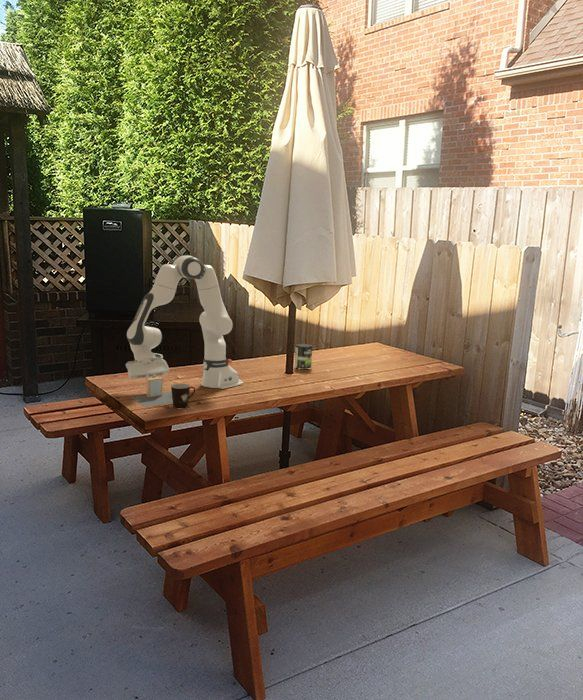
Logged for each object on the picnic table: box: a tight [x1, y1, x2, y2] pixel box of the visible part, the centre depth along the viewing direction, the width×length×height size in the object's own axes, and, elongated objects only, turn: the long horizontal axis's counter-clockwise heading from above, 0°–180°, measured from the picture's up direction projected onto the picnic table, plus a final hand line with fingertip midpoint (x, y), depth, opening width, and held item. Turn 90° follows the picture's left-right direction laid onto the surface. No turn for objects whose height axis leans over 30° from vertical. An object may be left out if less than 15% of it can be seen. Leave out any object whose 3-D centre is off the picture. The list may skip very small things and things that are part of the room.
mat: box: [129, 390, 173, 408], centre depth 307 cm, size 22×18×1 cm
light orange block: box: [146, 376, 164, 398], centre depth 310 cm, size 7×3×9 cm, turn 126°
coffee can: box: [294, 343, 313, 370], centre depth 382 cm, size 10×10×14 cm
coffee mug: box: [170, 383, 196, 409], centre depth 297 cm, size 12×9×10 cm
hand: (153, 383), depth 311 cm, fingers closed
